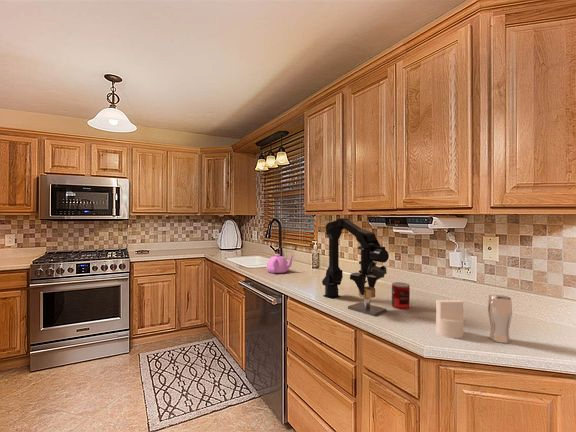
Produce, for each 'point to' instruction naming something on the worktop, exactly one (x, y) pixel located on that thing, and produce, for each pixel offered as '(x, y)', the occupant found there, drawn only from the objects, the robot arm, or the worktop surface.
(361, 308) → the shaft stand
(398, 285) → the canned food
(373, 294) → the ring
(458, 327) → the base with upright slab
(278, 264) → the teapot
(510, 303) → the beer glass
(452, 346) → the worktop surface
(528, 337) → the worktop surface
